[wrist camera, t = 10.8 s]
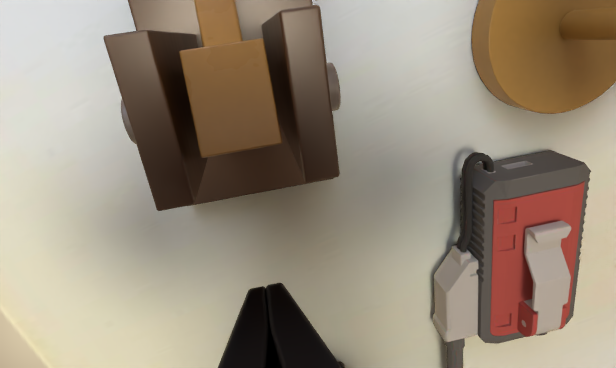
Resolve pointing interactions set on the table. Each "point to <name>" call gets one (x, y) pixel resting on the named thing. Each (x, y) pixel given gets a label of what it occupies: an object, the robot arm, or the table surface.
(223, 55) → the switch lever
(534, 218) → the red boxy piece
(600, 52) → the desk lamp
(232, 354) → the robot arm
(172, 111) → the switch bracket
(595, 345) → the table surface
